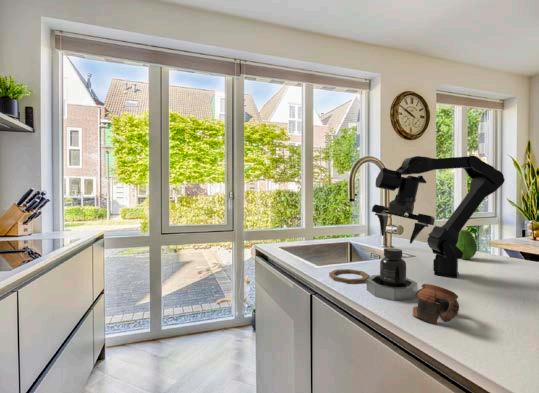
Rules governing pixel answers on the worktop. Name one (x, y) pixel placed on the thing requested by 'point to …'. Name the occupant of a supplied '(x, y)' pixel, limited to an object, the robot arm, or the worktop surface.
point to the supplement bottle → (393, 268)
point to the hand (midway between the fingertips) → (396, 239)
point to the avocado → (466, 244)
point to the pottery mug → (429, 305)
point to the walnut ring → (345, 280)
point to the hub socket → (391, 289)
